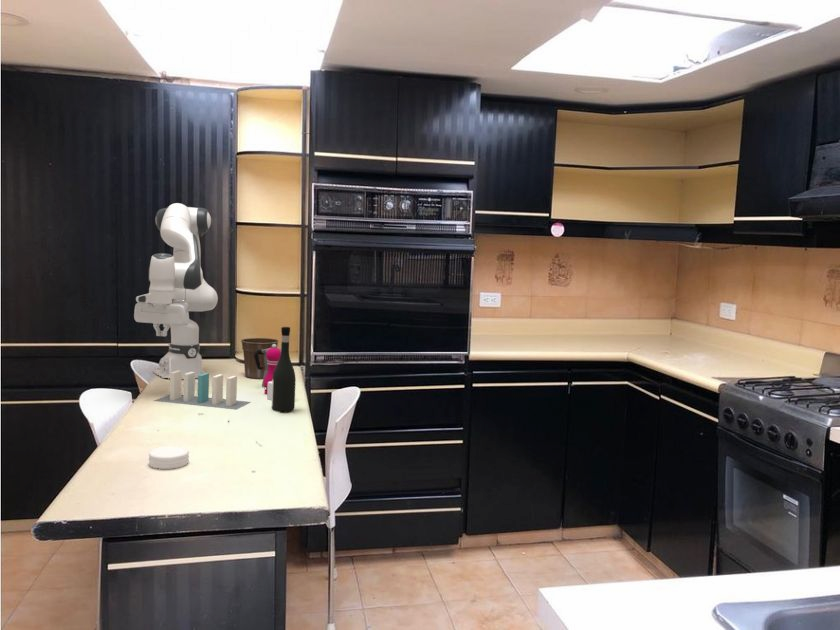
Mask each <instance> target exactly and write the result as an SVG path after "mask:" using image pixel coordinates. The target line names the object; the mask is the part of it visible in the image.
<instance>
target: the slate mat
mask: <svg viewBox="0 0 840 630" xmlns="http://www.w3.org/2000/svg"><path fill="white" fill-rule="evenodd" d="M183 395H184V394H181V397H180V398H178V399H175V400H170V394H167V395H165V396H162V397H160V398H158V399H157V398H156V399H155V400H154V399H153V402H161V403H168V404H169V403H171V404H179V405H189V406H197V407H206V408H208V407H209V408H216V409H217V408H218V409H225V410H226V409H228V410H235V411H236V410H239V409H241V408H242V407H243V408H244V407H245V406H246V405H248V404H250V403H251V401H244V400H237V399H236V403H235V404H233V405H231V406H226V398H223V402H221V403H218V404H216V405H215V404H212V397H209V398H208V401H205V402H203V403H197V399H198V395H197V396H196V395H195V399H193V400H190V401H188V402H186V401H183Z"/></svg>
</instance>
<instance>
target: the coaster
mask: <svg viewBox="0 0 840 630" xmlns="http://www.w3.org/2000/svg"><path fill="white" fill-rule="evenodd" d="M189 455H190V450H189V449H187V448H185V447H182V446H177V445H167V446H160V447H156V448H154V449H152V450H150V451H149V452H148V465H149V467H151V468H153V469H156V468H159V469H158V470H173V468H175V469H180V468H182V466H183V467H185V466H187V465H188V464H189V462H190V461H189V460H190V459H189V457H190V456H189ZM187 463H188V464H187ZM184 465H185V466H184Z"/></svg>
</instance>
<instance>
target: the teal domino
mask: <svg viewBox="0 0 840 630" xmlns="http://www.w3.org/2000/svg"><path fill="white" fill-rule="evenodd" d="M209 386H210V373H209V372H204V374H201V375H198V378H197V396H198V399H197V403H203V402H205V401H208V398H210V396H209V392H210V391H209V389H210V387H209Z"/></svg>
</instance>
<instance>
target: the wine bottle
mask: <svg viewBox="0 0 840 630" xmlns="http://www.w3.org/2000/svg"><path fill="white" fill-rule="evenodd" d="M280 329H281V330H280V331H281V345H280V346H281V348H280V349H281V355H280V358H279V361H278V363H277V366H276V368H275V370H274V374H273V380H272V401H271V409H272V410H273V411H275V412H279V413H290V412H292V411H294V409H295V405H296V404H295V403H296V382H297V381H296V372H295V369H294V366H293V363H292V361H291V356H290V334H291V327H289V326H282V327H281V328H280ZM289 411H290V412H289Z"/></svg>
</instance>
